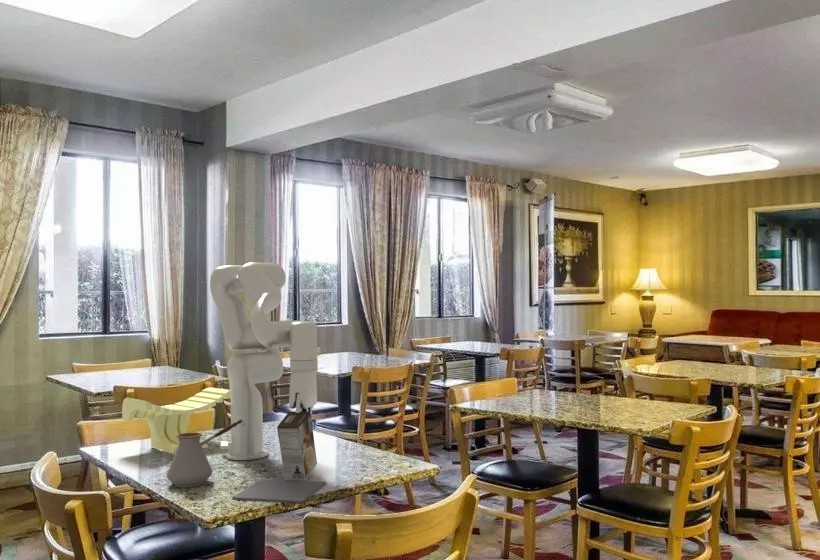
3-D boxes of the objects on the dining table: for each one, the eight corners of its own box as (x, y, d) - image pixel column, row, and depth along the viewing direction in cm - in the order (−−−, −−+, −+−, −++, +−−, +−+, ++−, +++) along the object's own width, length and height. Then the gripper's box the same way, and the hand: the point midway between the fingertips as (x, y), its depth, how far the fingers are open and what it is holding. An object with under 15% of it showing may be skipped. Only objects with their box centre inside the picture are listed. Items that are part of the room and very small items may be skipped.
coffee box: (295, 463, 191) (288, 410, 187) (317, 463, 190) (311, 410, 186) (284, 481, 183) (276, 426, 179) (306, 482, 182) (299, 426, 177)
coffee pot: (176, 492, 174) (175, 432, 174) (160, 483, 183) (159, 426, 183) (253, 477, 187) (253, 421, 188) (235, 469, 196) (235, 416, 196)
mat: (232, 499, 167) (232, 497, 167) (262, 480, 183) (262, 479, 183) (302, 502, 163) (302, 500, 163) (326, 483, 179) (326, 481, 179)
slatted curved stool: (205, 436, 244) (204, 386, 245) (230, 442, 234) (230, 390, 234) (122, 452, 222) (122, 396, 222) (146, 459, 211) (146, 400, 212)
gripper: (300, 363, 198) (301, 428, 198) (280, 369, 183) (281, 438, 183) (325, 363, 197) (326, 428, 196) (307, 369, 182) (308, 438, 181)
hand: (305, 433), depth 189 cm, fingers closed
